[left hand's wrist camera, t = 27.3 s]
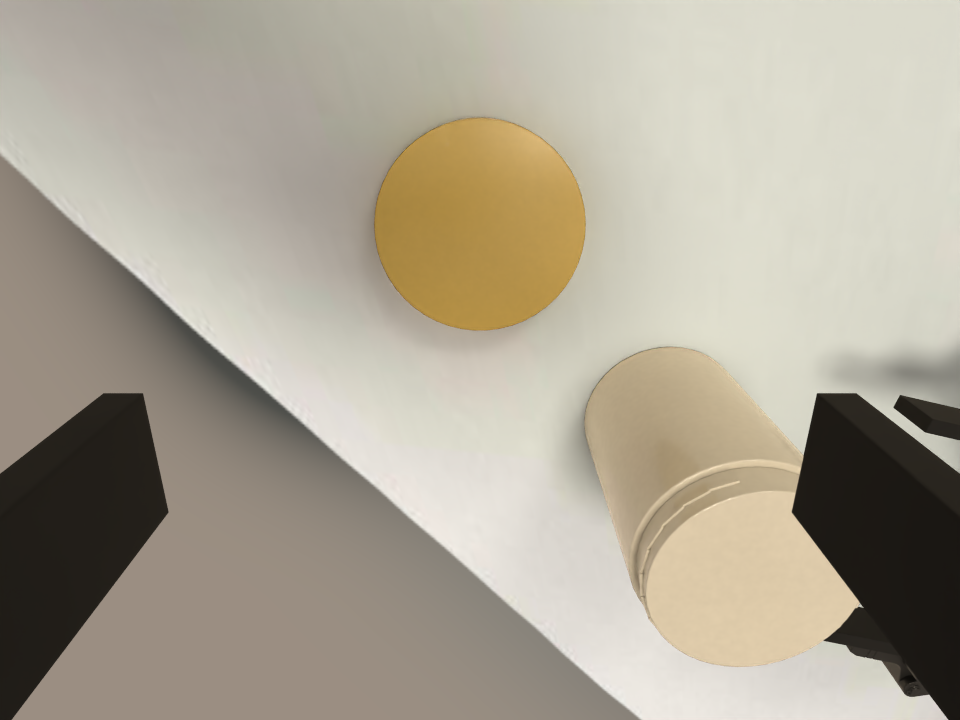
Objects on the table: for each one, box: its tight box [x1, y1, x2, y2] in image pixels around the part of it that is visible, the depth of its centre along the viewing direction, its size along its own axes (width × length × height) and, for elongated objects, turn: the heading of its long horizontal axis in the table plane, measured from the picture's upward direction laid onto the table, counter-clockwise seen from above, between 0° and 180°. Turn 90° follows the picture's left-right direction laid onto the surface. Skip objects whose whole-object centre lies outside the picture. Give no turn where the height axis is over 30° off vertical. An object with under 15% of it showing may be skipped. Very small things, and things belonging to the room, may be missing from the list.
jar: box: [585, 347, 860, 667], centre depth 35 cm, size 10×10×15 cm
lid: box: [374, 118, 586, 330], centre depth 36 cm, size 12×12×2 cm
